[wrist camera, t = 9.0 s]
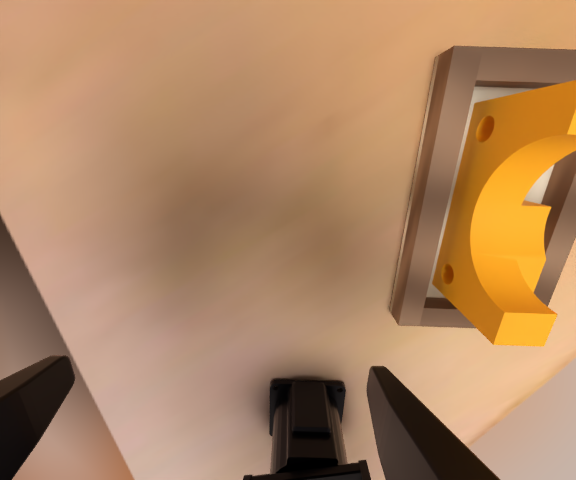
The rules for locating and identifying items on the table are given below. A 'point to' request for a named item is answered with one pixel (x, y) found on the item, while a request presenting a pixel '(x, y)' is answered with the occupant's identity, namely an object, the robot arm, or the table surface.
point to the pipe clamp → (505, 213)
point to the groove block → (445, 165)
